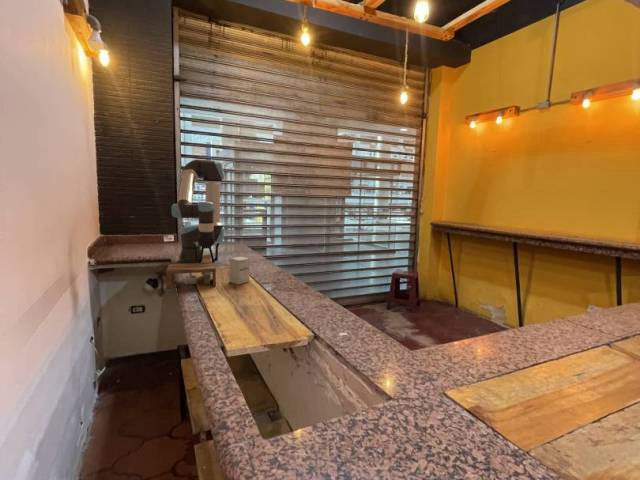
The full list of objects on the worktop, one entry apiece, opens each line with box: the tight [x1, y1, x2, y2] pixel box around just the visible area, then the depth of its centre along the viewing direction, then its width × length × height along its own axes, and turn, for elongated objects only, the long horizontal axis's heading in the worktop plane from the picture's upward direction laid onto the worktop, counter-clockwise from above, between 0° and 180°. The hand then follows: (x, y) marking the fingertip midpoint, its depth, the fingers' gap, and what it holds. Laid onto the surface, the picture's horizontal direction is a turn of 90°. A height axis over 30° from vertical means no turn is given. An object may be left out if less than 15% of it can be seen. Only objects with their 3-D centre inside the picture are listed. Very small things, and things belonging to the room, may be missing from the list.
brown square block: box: [184, 275, 197, 285], centre depth 168 cm, size 5×5×3 cm
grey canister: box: [229, 256, 250, 285], centre depth 172 cm, size 7×7×13 cm
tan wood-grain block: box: [202, 253, 212, 285], centre depth 174 cm, size 17×4×12 cm, turn 19°
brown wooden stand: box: [165, 262, 217, 290], centre depth 165 cm, size 14×22×9 cm, turn 109°
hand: (206, 273), depth 180 cm, fingers closed on tan wood-grain block, 4 cm apart
